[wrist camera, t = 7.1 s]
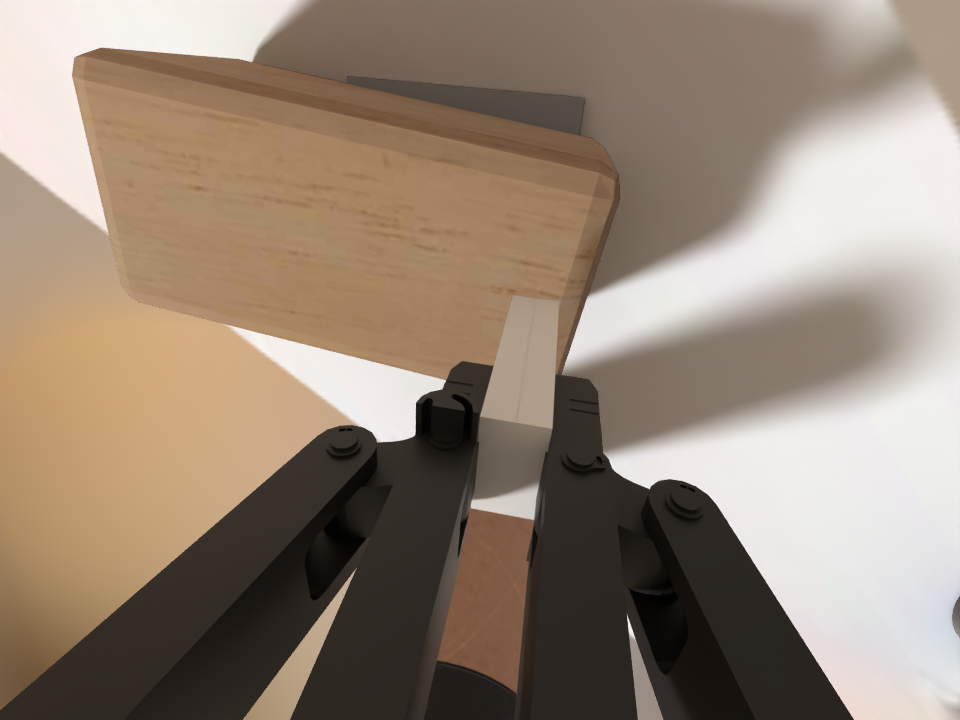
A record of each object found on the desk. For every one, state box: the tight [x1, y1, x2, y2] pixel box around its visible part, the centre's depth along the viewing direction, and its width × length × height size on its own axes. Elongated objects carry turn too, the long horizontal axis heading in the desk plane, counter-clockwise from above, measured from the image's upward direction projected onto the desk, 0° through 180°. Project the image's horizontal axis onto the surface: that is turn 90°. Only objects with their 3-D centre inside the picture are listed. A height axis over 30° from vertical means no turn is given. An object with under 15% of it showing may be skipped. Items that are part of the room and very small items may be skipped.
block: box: [72, 48, 620, 380], centre depth 22 cm, size 10×10×20 cm
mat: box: [347, 76, 585, 135], centre depth 27 cm, size 12×15×1 cm
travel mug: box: [423, 506, 535, 720], centre depth 26 cm, size 8×8×20 cm
